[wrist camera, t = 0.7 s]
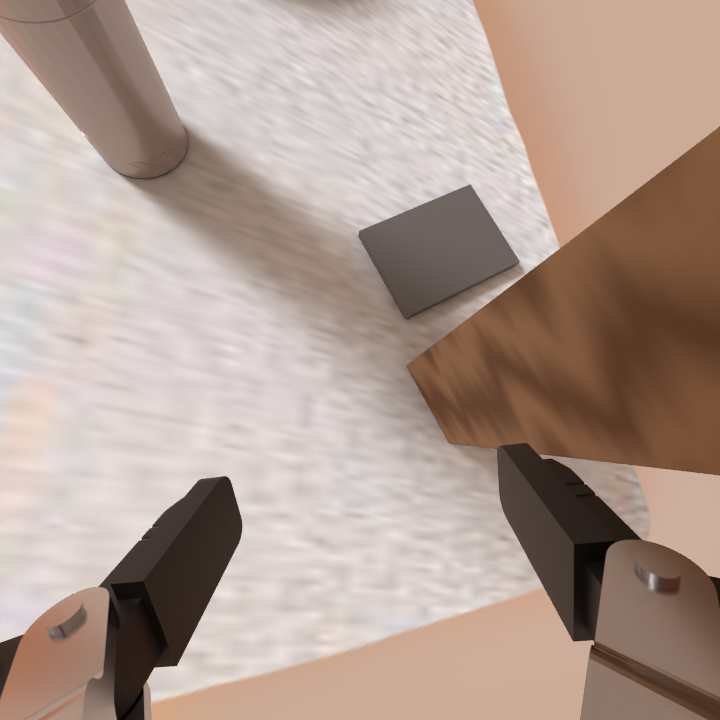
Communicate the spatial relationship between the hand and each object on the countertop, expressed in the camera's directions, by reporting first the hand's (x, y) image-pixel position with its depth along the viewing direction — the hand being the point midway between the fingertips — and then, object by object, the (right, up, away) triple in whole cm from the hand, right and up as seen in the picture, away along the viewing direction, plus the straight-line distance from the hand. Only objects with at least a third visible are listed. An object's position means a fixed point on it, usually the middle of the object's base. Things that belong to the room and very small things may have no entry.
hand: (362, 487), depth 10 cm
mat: (+9, +16, +28) cm, 34 cm away
